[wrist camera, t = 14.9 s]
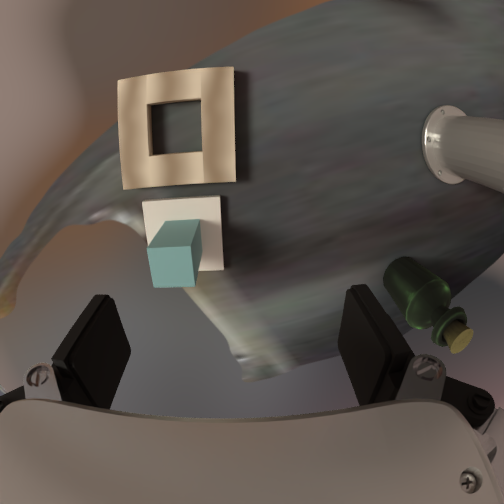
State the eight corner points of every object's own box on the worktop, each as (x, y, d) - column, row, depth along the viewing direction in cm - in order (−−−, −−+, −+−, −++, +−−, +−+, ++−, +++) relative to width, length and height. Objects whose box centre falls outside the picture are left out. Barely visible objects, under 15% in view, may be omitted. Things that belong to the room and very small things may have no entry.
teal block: (199, 218, 36) (190, 246, 27) (202, 251, 37) (195, 286, 29) (165, 220, 35) (146, 248, 27) (169, 253, 37) (153, 287, 29)
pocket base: (233, 70, 29) (233, 66, 27) (235, 179, 35) (235, 181, 33) (123, 82, 28) (117, 80, 27) (128, 186, 34) (123, 189, 32)
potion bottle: (384, 303, 45) (437, 376, 28) (372, 267, 41) (435, 340, 25) (421, 279, 43) (482, 342, 27) (413, 242, 40) (486, 301, 24)
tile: (220, 195, 36) (219, 196, 35) (223, 266, 40) (223, 269, 39) (144, 200, 35) (142, 201, 34) (154, 269, 39) (152, 272, 38)
